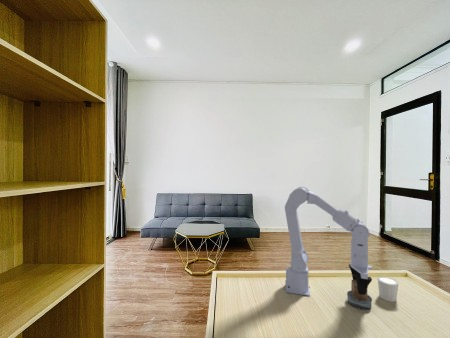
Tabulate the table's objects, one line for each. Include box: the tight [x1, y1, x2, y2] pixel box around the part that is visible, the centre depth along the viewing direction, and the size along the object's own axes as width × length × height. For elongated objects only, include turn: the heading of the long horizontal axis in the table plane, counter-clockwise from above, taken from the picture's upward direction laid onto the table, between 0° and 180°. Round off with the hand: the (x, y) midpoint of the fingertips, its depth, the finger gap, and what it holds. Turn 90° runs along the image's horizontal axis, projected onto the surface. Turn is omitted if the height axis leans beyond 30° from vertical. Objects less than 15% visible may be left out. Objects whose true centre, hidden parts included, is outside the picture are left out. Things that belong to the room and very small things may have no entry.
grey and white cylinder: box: [377, 276, 399, 303], centre depth 91 cm, size 7×7×7 cm
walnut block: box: [350, 279, 368, 300], centre depth 87 cm, size 4×4×5 cm
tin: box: [346, 290, 373, 311], centre depth 87 cm, size 8×8×3 cm
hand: (359, 288), depth 87 cm, fingers open, 7 cm apart
